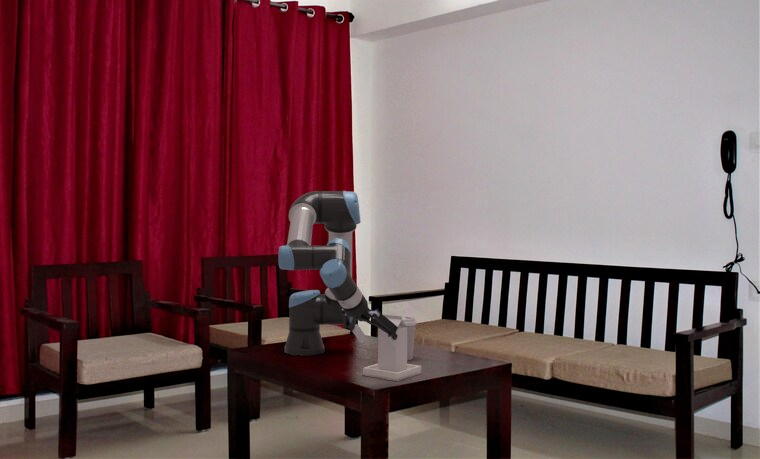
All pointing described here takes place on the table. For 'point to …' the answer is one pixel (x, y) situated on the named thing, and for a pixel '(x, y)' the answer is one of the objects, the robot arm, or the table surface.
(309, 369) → the table surface
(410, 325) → the coffee cup
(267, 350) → the table surface
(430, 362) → the table surface
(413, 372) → the ceramic tray
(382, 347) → the milk carton
